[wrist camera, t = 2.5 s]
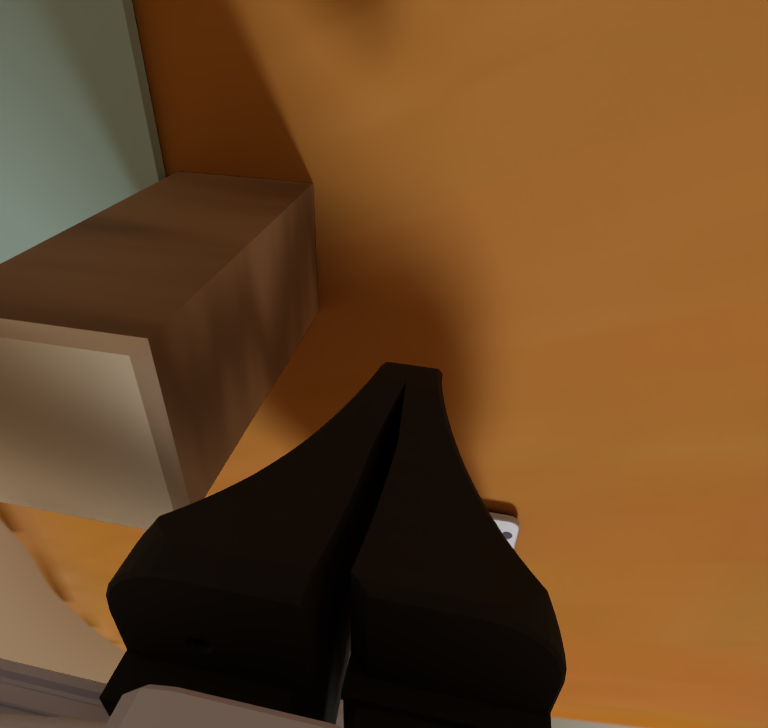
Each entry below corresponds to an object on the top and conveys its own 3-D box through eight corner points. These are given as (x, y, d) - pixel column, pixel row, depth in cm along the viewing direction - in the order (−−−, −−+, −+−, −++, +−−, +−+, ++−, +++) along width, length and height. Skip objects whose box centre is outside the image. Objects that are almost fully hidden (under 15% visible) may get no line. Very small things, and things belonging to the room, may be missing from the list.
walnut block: (318, 311, 21) (180, 536, 12) (200, 296, 22) (-11, 499, 13) (313, 183, 19) (129, 356, 10) (178, 171, 19) (-111, 321, 10)
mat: (206, 383, 25) (201, 390, 24) (-6, 352, 26) (-14, 358, 26) (119, -61, 16) (109, -62, 15) (-196, -69, 17) (-213, -71, 17)
